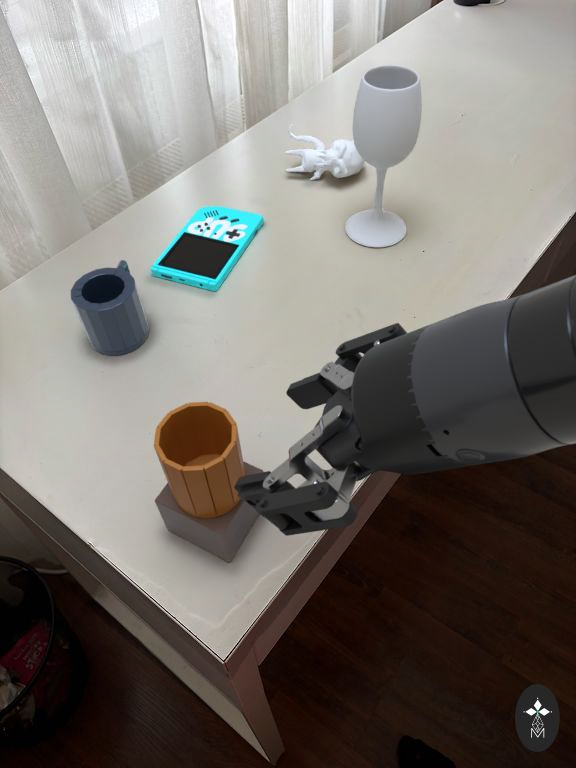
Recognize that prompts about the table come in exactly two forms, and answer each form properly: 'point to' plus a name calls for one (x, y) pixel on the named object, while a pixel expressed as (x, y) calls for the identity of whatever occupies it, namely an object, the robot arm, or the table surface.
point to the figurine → (327, 157)
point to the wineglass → (384, 143)
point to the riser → (210, 523)
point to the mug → (111, 310)
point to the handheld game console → (208, 247)
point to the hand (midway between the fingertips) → (271, 442)
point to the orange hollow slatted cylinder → (201, 458)
